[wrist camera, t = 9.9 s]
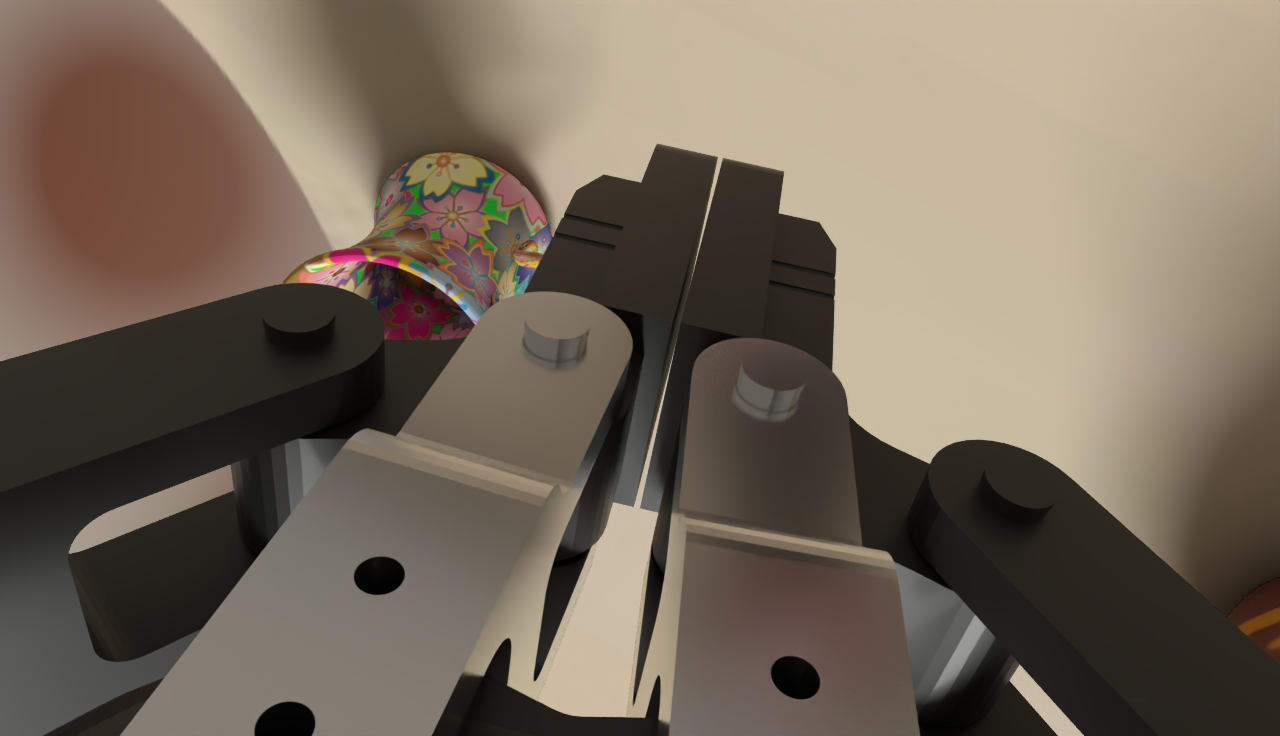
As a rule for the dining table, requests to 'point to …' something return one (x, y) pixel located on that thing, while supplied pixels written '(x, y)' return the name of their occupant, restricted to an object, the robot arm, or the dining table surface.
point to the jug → (1261, 617)
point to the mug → (440, 247)
